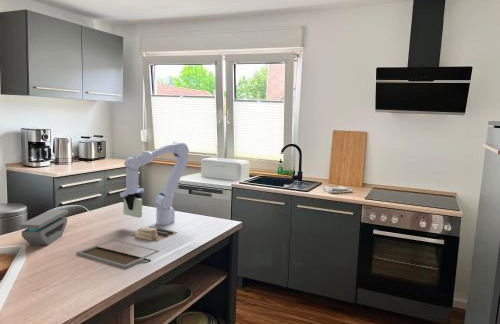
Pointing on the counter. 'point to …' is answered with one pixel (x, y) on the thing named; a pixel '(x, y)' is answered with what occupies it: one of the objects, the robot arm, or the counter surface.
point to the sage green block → (134, 208)
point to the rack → (160, 234)
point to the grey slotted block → (45, 227)
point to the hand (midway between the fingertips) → (132, 208)
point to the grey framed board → (114, 256)
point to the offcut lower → (146, 236)
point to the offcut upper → (147, 231)
